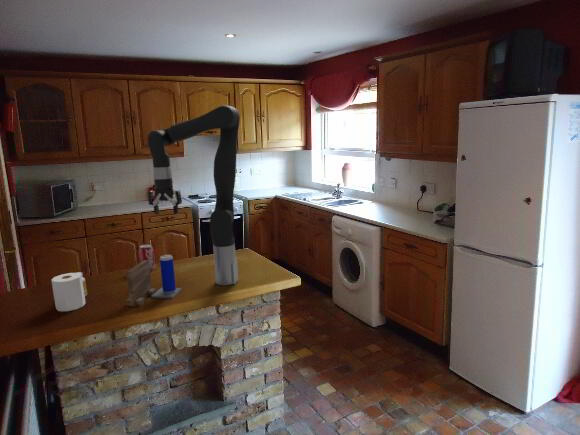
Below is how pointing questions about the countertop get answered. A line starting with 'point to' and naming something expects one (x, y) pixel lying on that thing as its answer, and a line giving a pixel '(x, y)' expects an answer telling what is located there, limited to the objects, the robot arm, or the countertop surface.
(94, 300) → the countertop surface
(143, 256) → the soda can
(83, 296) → the toilet paper
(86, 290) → the supplement bottle
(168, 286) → the beverage can
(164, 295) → the coaster
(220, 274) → the robot arm
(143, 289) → the board
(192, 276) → the countertop surface
